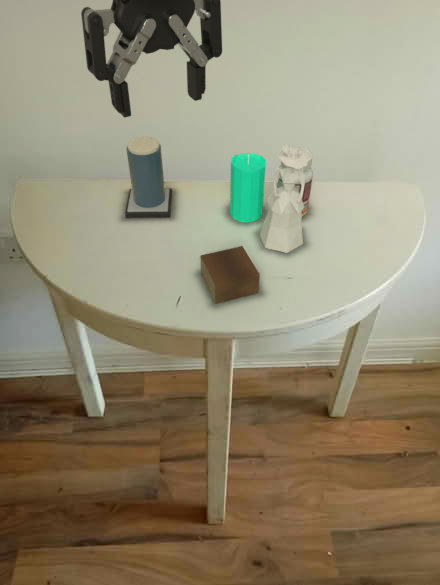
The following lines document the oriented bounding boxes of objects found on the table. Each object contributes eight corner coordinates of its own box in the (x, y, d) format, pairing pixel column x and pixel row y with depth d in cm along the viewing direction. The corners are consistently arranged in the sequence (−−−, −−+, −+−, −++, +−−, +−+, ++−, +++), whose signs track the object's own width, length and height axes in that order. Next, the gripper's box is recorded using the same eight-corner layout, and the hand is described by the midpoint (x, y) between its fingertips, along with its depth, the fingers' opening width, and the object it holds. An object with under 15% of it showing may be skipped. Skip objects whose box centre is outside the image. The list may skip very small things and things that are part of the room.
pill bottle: (299, 198, 95) (306, 143, 87) (312, 216, 91) (322, 160, 83) (268, 203, 94) (273, 148, 86) (281, 222, 90) (287, 166, 82)
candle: (224, 217, 90) (225, 158, 82) (236, 200, 94) (238, 141, 86) (256, 225, 89) (260, 165, 80) (266, 207, 93) (271, 148, 84)
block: (215, 304, 75) (215, 285, 72) (200, 274, 80) (200, 255, 77) (258, 293, 77) (260, 274, 74) (241, 264, 82) (242, 245, 79)
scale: (125, 218, 90) (124, 211, 89) (130, 193, 96) (129, 186, 95) (170, 217, 90) (169, 211, 90) (172, 192, 96) (171, 186, 95)
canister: (137, 210, 90) (130, 155, 82) (130, 193, 93) (122, 138, 86) (169, 204, 91) (164, 149, 83) (160, 187, 95) (155, 133, 87)
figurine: (269, 256, 83) (278, 159, 70) (255, 227, 89) (261, 132, 76) (309, 249, 84) (325, 153, 71) (293, 221, 90) (305, 127, 77)
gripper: (199, -86, 49) (201, 81, 61) (55, -74, 44) (87, 106, 55) (238, -72, 44) (232, 106, 56) (83, -57, 39) (112, 135, 51)
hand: (160, 105), depth 56 cm, fingers open, 8 cm apart
